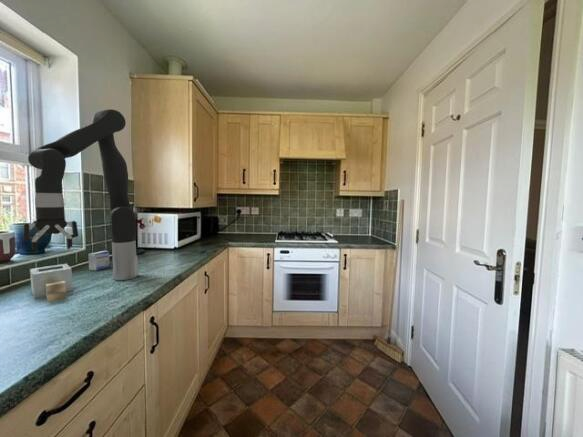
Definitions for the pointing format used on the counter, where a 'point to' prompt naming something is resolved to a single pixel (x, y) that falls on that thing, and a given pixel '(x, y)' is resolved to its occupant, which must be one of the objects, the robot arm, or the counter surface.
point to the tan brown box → (56, 291)
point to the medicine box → (98, 260)
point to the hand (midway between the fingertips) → (53, 250)
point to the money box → (50, 278)
